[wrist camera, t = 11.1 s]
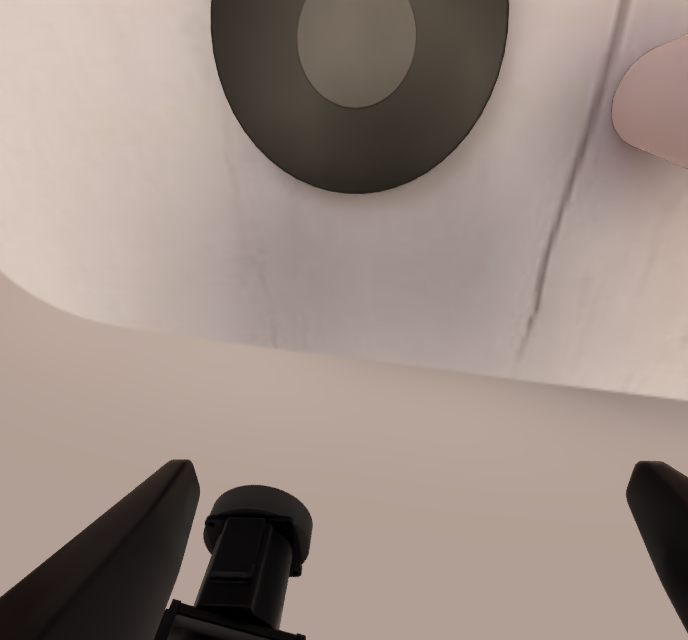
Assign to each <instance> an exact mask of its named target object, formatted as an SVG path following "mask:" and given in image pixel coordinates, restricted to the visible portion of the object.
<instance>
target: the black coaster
mask: <svg viewBox="0 0 688 640" xmlns="http://www.w3.org/2000/svg"><path fill="white" fill-rule="evenodd" d="M508 17H509V0H211V36H212V45H213V54H214V58H215V63H216V67H217V71H218V76H219V79H220V82H221V84H222V87H223V90H224V93H225V96H226V98H227V100H228V102H229V105H230V107H231V109H232V111H233V113H234V115H235V117H236V118H237V120H238V122H239V123H240V125H241V127H242V128H243V130H244V131H245V133H246V134H247V135H248V137H249V138H250V139H251V140H252V142H253V143H254V144H255V146H256V147H257V148H258V149H259V150H260V151H261V152H262V153H263V154H264V155H265V156H266V157H267V158H268V159H269V160H270V161H272V162H273V163H274V164H275V165H277V166H278V167H279V168H281V169H282V170H283V171H285V172H286V173H288V174H290V175H291V176H293V177H295V178H296V179H298V180H300V181H302V182H305V183H307V184H309V185H311V186H314V187H317V188H321V189H324V190H328V191H332V192H339V193H345V194H365V193H374V192H380V191H384V190H388V189H392V188H396V187H398V186H401V185H403V184H406V183H408V182H411V181H413V180H415V179H416V178H418V177H420V176H422V175H424V174H425V173H427V172H428V171H430V170H431V169H433V168H434V167H435V166H437V165H438V164H439V163H441V162H442V161H443V160H444V159H445V158H446V157H447V156H449V155H450V154H451V153H452V152H453V151H454V150H455V149H456V148H457V147H458V146H459V144H460V143H461V142H462V141H463V140H464V138H465V137H466V136H467V135H468V134H469V132H470V131H471V129H472V128H473V126H474V125H475V123H476V122H477V120H478V119H479V117H480V116H481V114H482V112H483V110H484V108H485V106H486V104H487V102H488V100H489V99H490V96H491V94H492V91H493V89H494V86H495V84H496V81H497V78H498V76H499V72H500V68H501V64H502V61H503V57H504V53H505V46H506V40H507V33H508Z"/></svg>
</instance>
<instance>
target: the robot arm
mask: <svg viewBox="0 0 688 640" xmlns="http://www.w3.org/2000/svg"><path fill="white" fill-rule="evenodd" d="M199 496H200V487H199V483H198V479H197V476H196V473H195V469H194V466H193V464H192V462H191V461H190V460H171V461H169V462H167V463H166V464H165V465H164V466H162V467H161V468H160V469H159V470H158V471H156V472H155V473H154V474H152V475H151V476H150V477H149V478H147V479H146V480H145V481H144V482H143V483H141V484H140V485H139V486H138V487H136V488H135V489H134V490H133V491H132V492H130V493H129V494H128V495H126V496H125V497H124V498H123V499H121V500H120V501H119V502H118V503H117V504H115V505H114V506H113V507H112V508H110V509H109V510H108V511H107V512H105V513H104V514H103V515H102V516H100V517H99V518H98V519H97V520H95V521H94V522H93V523H92V524H90V525H89V526H88V527H87V528H86V529H84V530H83V531H82V532H81V533H80V534H78V535H77V536H76V537H74V538H73V539H72V540H71V541H69V542H68V543H67V544H66V545H64V546H63V547H62V548H61V549H60V550H58V551H57V552H56V553H55V554H53V555H52V556H51V557H50V558H48V559H47V560H46V561H45V562H44V563H42V564H41V565H40V566H39V567H37V568H36V569H35V570H34V571H32V572H31V573H30V574H29V575H27V576H26V577H25V578H24V579H22V580H21V581H20V582H19V583H17V584H16V585H15V586H14V587H12V588H11V589H10V590H9V591H7V592H6V593H5V594H4V595H3V596H1V597H0V640H306V636H305V635H301V634H297V635H295V634H291V633H288V632H284V631H281V630H279V627H280V622H281V616H282V611H283V605H284V600H285V594H286V589H287V582H288V578H289V577H299V576H301V574H302V563H301V557H300V551H299V545H298V539H297V533H296V527H295V521H294V519H293V518H292V517H290V516H266V515H209V516H207V518H206V520H205V527H206V530H207V533H208V536H209V539H210V543H211V546H212V549H213V553H212V556H211V559H210V562H209V565H208V567H207V570H206V573H205V576H204V579H203V581H202V584H201V587H200V589H199V593H198V595H197V598H196V601H195V603H194V606H190V605H187V604H183V603H181V601H179V600H175V599H173V601H172V603H171V605H170V608H169V609H166V610H165V608H166V606H167V603H168V600H169V598H170V595H171V592H172V590H173V587H174V584H175V581H176V579H177V576H178V573H179V570H180V567H181V563H182V560H183V556H184V553H185V549H186V545H187V541H188V538H189V534H190V530H191V527H192V523H193V519H194V516H195V512H196V508H197V504H198V501H199ZM626 498H627V502H628V504H629V507H630V509H631V512H632V514H633V517H634V519H635V521H636V524H637V526H638V529H639V531H640V533H641V536H642V538H643V540H644V543H645V545H646V548H647V550H648V553H649V555H650V557H651V560H652V562H653V565H654V567H655V570H656V572H657V574H658V576H659V578H660V581H661V583H662V585H663V587H664V589H665V591H666V593H667V595H668V597H669V598H670V600H671V603H672V604H673V606H674V608H675V610H676V612H677V614H678V616H679V618H680V619H681V621H682V623H683V625H684V627H685V629H686V631H687V633H688V477H687V476H685V475H683V474H682V473H680V472H679V471H677V470H675V469H674V468H672V467H671V466H669V465H667V464H666V463H664V462H661V461H640V462H638V463H637V464H636V465H635V467H634V470H633V472H632V475H631V478H630V481H629V484H628V487H627V490H626Z"/></svg>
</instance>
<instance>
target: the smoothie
mask: <svg viewBox="0 0 688 640" xmlns="http://www.w3.org/2000/svg"><path fill="white" fill-rule="evenodd" d="M612 120H613V124H614V127H615V130H616V131H617V133H618V135H619V136H620V137H621V138H622V139H623V140H624V141H625V142H626V143H628V144H630V145H632V146H634V147H637V148H639V149H641V150H644V151H646V152H649V153H651V154H653V155H656V156H658V157H661V158H663V159H665V160H668V161H670V162H673V163H675V164H677V165H680V166H682V167H685V168H687V169H688V34H686V35H683V36H681V37H679V38H676V39H674V40H672V41H670V42H667V43H665V44H663V45H661V46H658V47H656V48H654V49H652V50H650V51H649V52H647V53H646V54H644V55H643V56H642V57H640V58H639V59H638V60H637V61H636V62H635V63H634V64H633V65H632V66H631V67H630V68H629V69H628V71H627V72H626V73H625V75H624V76H623V78H622V80H621V81H620V83H619V85H618V87H617V90H616V92H615V95H614V99H613V104H612Z"/></svg>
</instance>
